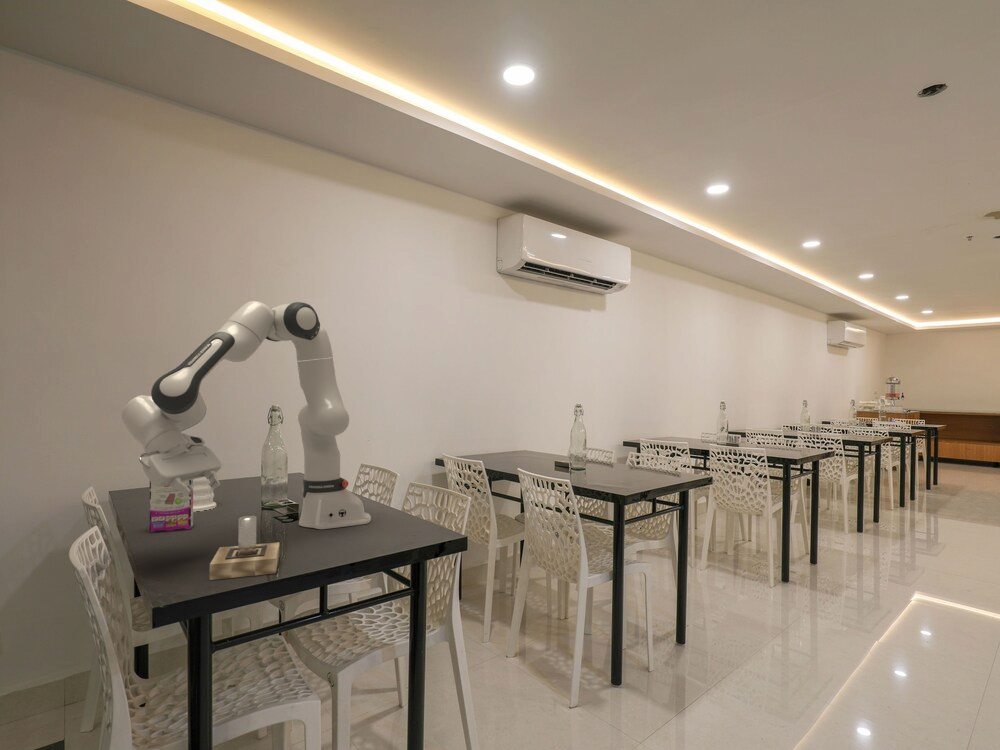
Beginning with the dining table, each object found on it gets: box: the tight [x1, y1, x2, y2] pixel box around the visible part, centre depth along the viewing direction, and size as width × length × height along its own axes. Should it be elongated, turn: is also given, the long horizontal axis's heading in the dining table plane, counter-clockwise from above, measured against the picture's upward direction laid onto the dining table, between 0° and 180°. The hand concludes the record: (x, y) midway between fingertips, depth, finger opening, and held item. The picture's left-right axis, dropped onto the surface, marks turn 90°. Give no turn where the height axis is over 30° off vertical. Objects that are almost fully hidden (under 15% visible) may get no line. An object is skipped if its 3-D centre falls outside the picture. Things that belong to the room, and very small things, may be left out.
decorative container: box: [193, 477, 217, 513], centre depth 198 cm, size 12×12×18 cm
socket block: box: [209, 542, 281, 581], centre depth 134 cm, size 14×14×4 cm
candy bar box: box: [148, 480, 194, 534], centre depth 169 cm, size 11×5×16 cm, turn 112°
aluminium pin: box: [237, 515, 258, 556], centre depth 134 cm, size 4×4×12 cm
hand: (203, 490), depth 136 cm, fingers open, 8 cm apart
